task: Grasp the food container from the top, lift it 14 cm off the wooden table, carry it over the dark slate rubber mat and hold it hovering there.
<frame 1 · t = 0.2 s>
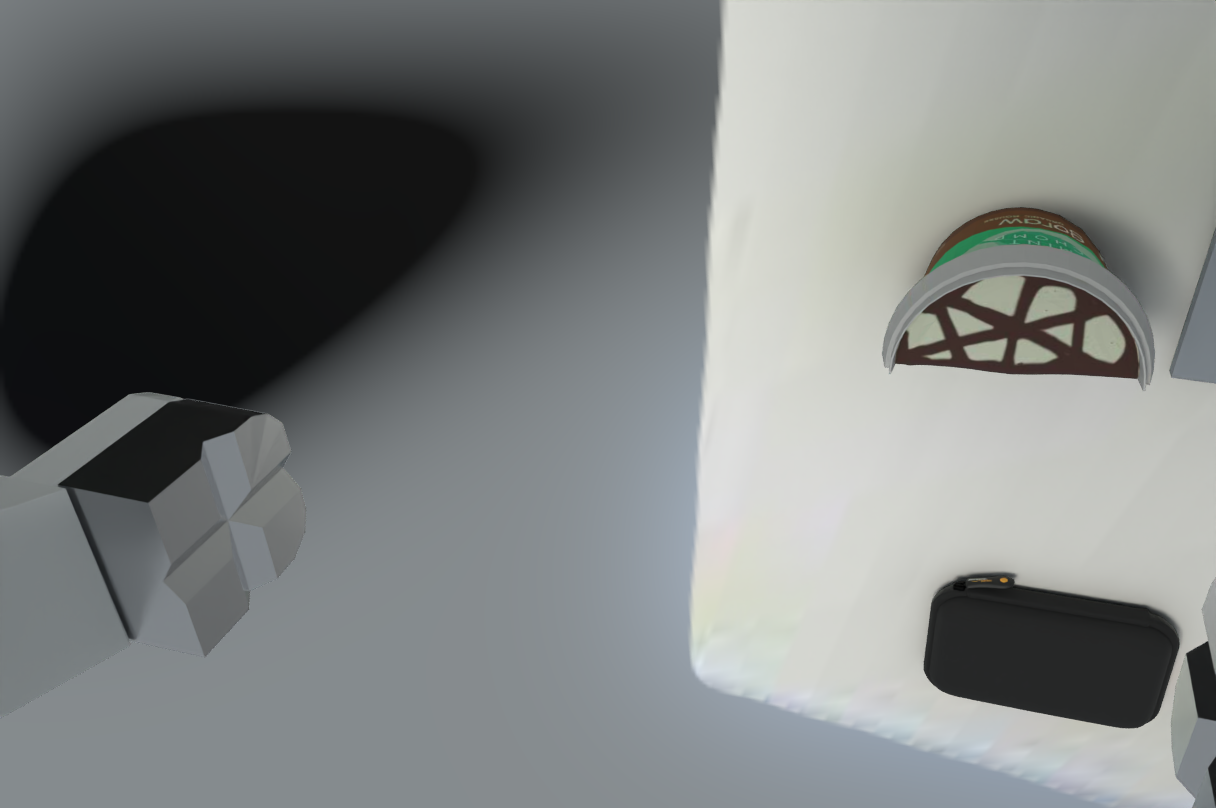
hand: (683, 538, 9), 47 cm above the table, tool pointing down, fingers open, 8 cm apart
carrying case or bag: (1044, 630, 66), on the table
food container: (1017, 239, 53), on the table
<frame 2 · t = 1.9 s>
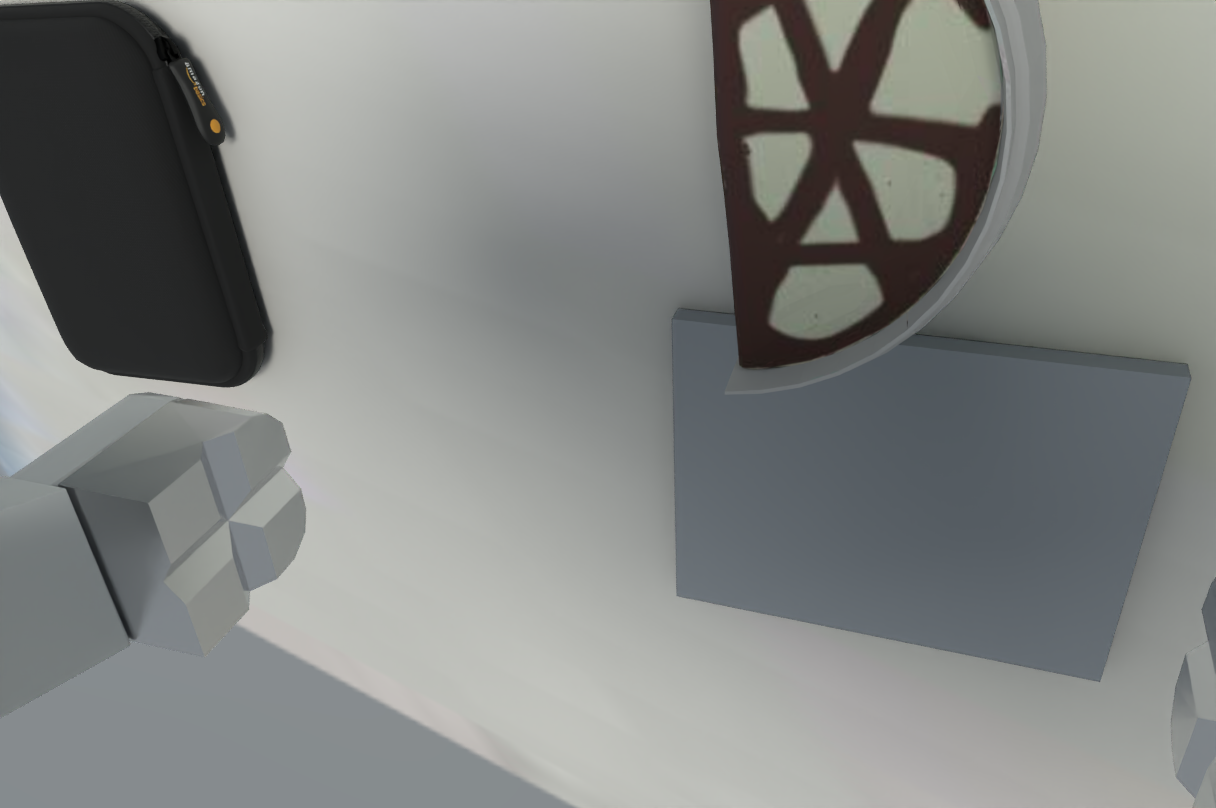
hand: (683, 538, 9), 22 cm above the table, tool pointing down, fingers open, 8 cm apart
carrying case or bag: (159, 194, 39), on the table
slate mat: (893, 491, 34), on the table
food container: (913, 24, 26), on the table
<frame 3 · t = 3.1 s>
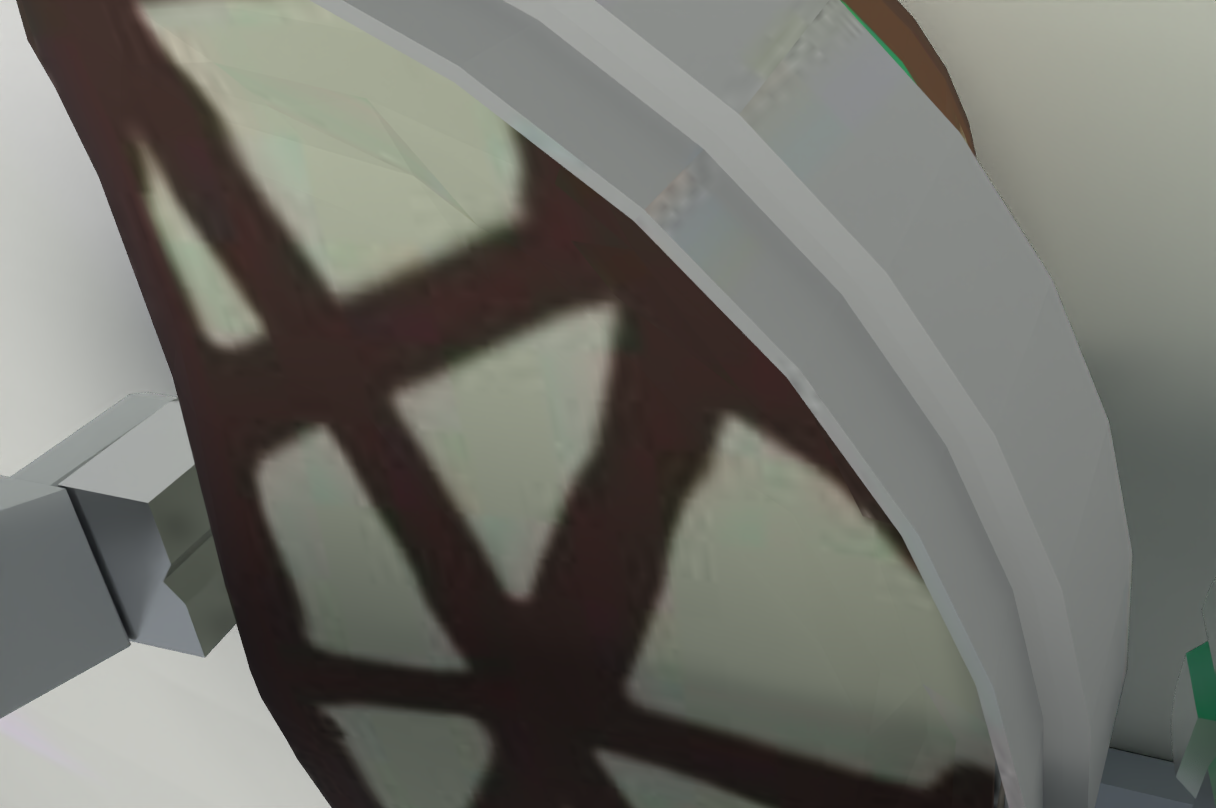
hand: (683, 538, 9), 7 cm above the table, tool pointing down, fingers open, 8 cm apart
food container: (841, 222, 14), on the table
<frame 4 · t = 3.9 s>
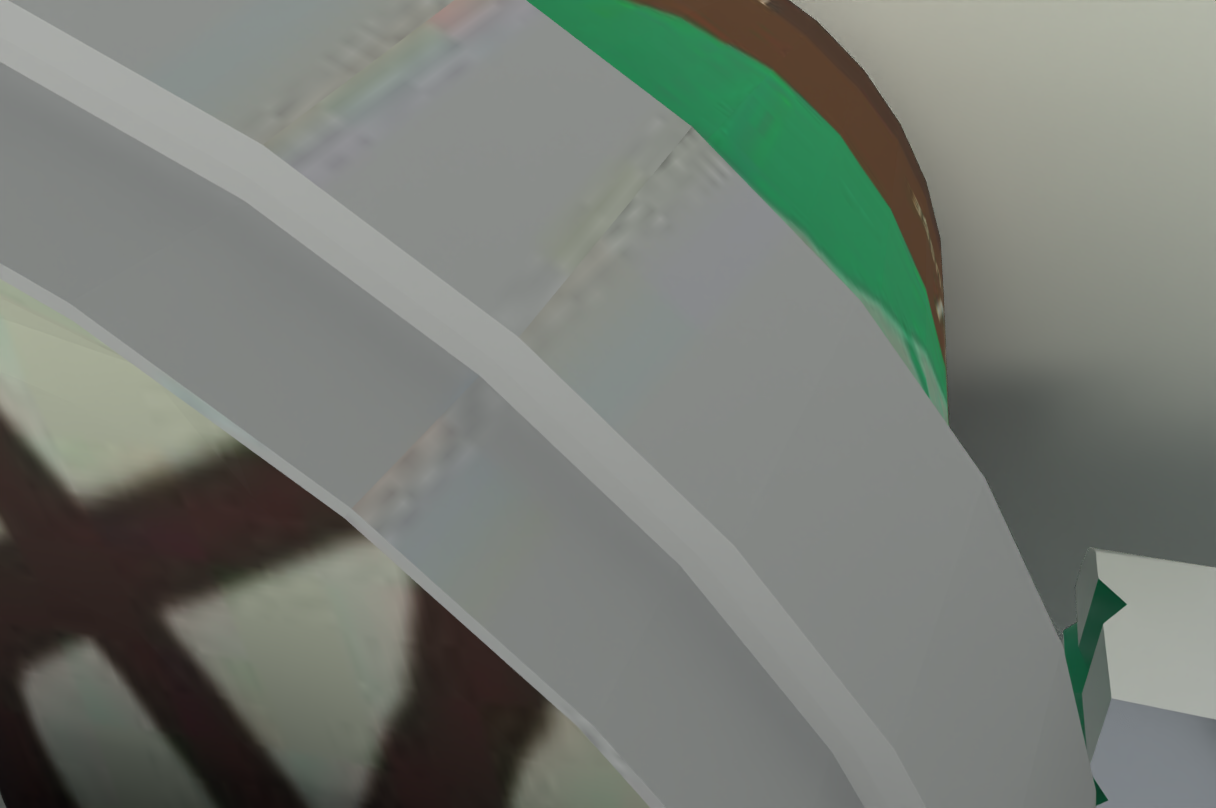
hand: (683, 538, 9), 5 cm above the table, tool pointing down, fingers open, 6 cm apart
food container: (792, 286, 13), on the table, touching gripper
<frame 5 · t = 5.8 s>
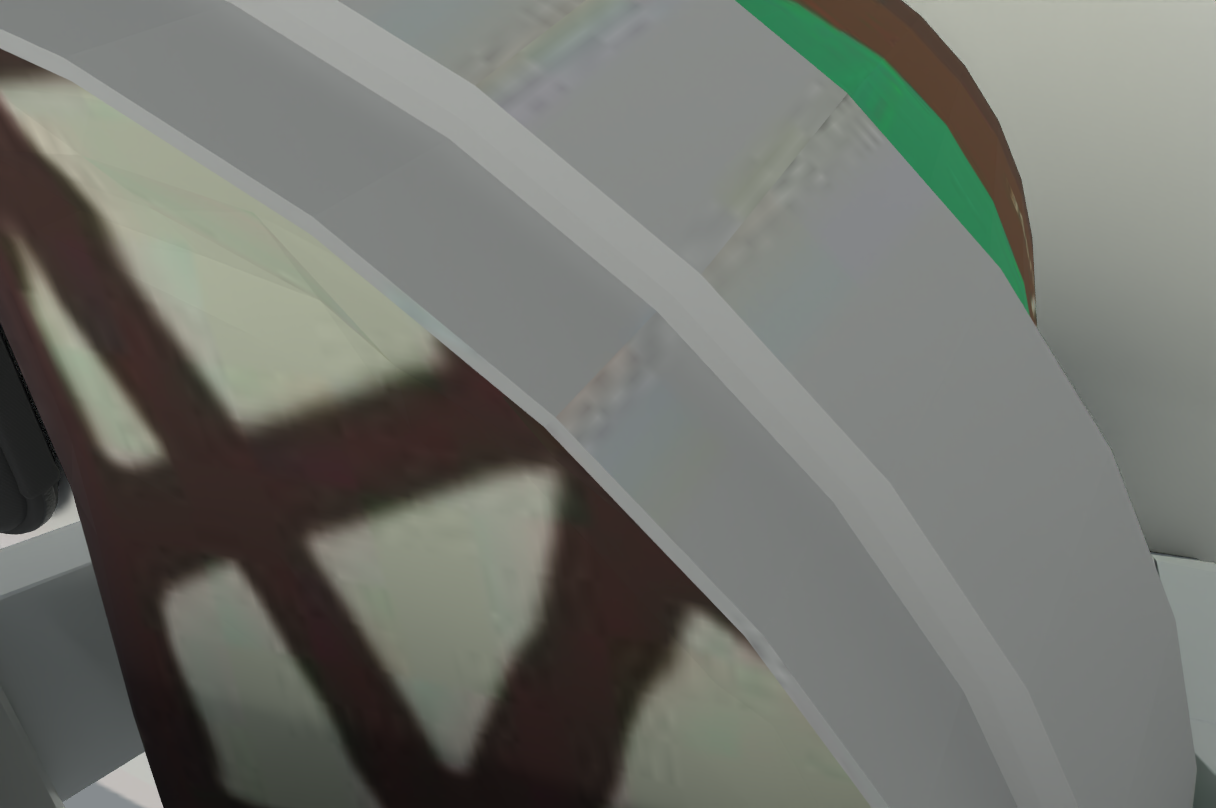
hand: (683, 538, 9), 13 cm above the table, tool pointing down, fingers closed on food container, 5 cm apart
food container: (877, 280, 13), point 7 cm above the table, touching gripper
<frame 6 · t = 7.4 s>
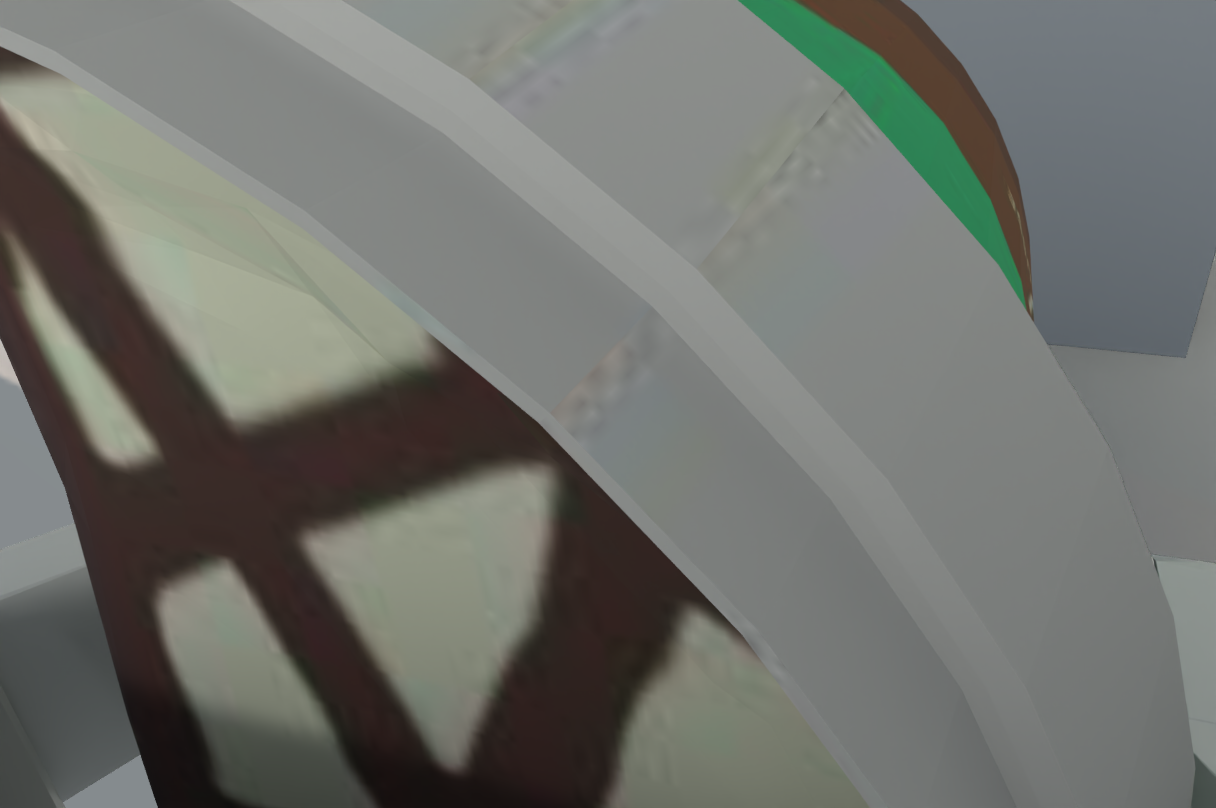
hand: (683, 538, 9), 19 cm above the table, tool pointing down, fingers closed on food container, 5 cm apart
slate mat: (901, 97, 25), on the table
food container: (874, 279, 13), point 14 cm above the table, touching gripper
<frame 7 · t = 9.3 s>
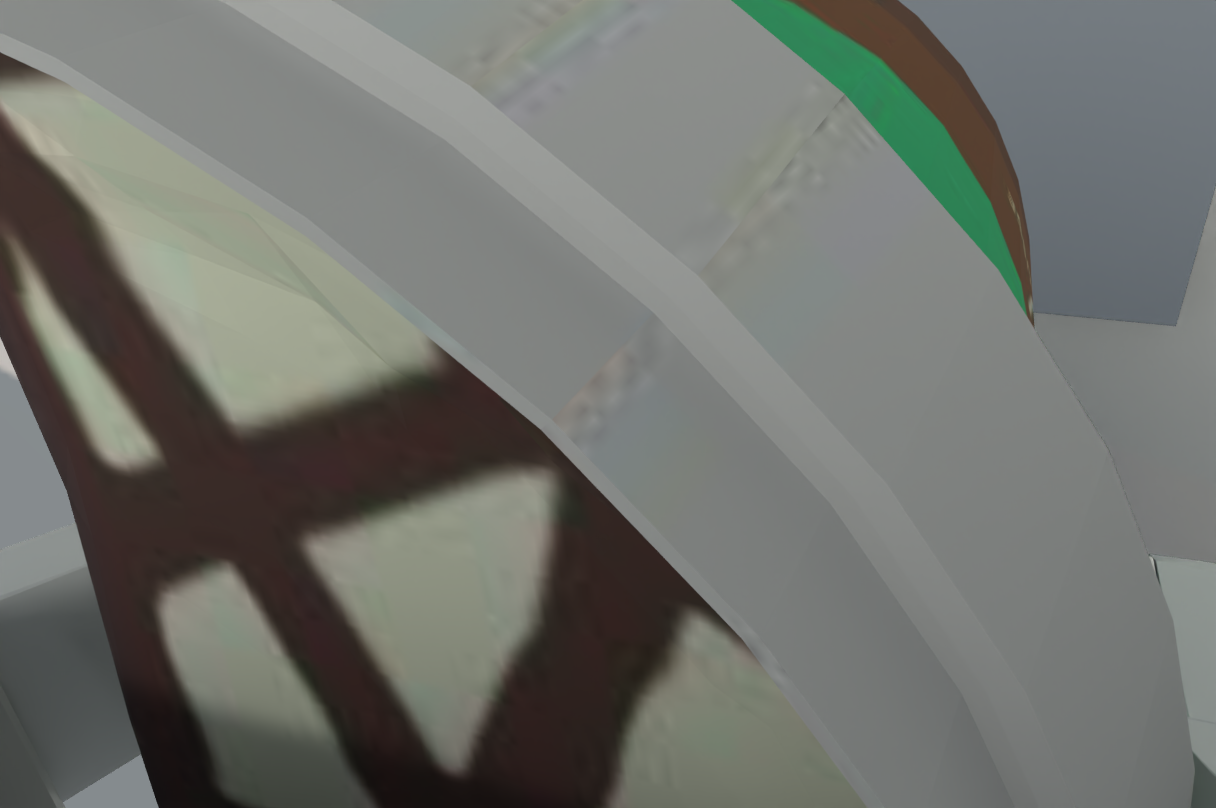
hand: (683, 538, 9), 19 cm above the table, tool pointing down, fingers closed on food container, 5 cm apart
slate mat: (887, 55, 24), on the table
food container: (874, 280, 13), point 13 cm above the table, touching gripper
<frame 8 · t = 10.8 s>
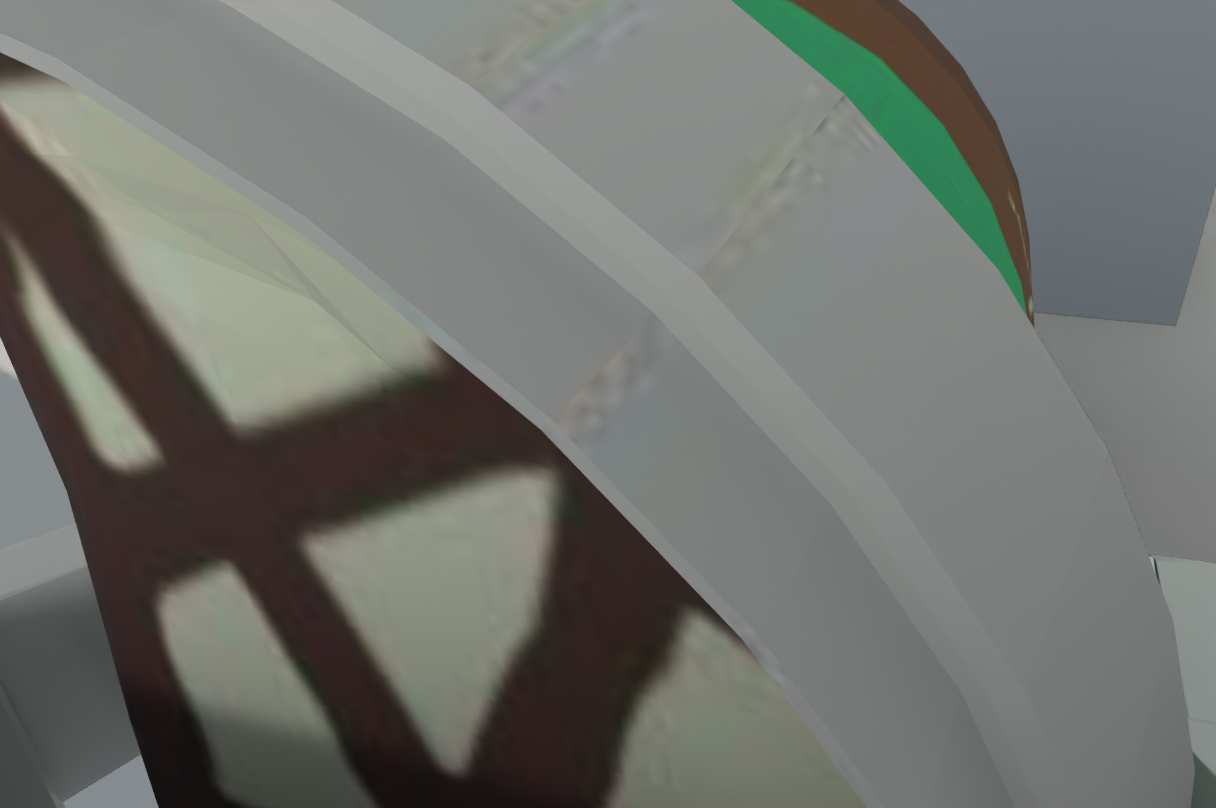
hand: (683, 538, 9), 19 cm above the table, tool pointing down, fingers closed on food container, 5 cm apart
slate mat: (887, 55, 24), on the table
food container: (874, 280, 13), point 13 cm above the table, touching gripper
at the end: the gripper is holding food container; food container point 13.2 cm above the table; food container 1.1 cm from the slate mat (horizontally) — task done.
